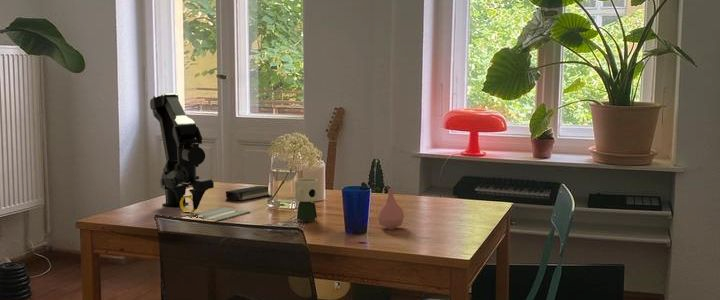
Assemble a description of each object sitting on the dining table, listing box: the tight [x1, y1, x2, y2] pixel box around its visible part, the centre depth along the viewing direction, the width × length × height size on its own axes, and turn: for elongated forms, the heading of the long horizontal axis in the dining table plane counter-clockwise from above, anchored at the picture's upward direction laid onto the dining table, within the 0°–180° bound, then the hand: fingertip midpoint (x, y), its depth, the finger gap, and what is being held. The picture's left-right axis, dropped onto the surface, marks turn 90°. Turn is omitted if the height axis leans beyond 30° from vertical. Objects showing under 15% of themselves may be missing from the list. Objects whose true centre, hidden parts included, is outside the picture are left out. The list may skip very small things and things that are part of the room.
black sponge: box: [225, 185, 269, 201], centre depth 274 cm, size 16×8×4 cm, turn 138°
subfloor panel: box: [182, 206, 251, 221], centre depth 243 cm, size 13×22×1 cm, turn 145°
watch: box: [179, 193, 197, 214], centre depth 249 cm, size 6×3×6 cm, turn 65°
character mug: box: [294, 177, 319, 222], centre depth 235 cm, size 11×7×13 cm, turn 156°
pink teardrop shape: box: [377, 187, 405, 230], centre depth 225 cm, size 8×8×12 cm
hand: (188, 208), depth 249 cm, fingers closed on watch, 6 cm apart
